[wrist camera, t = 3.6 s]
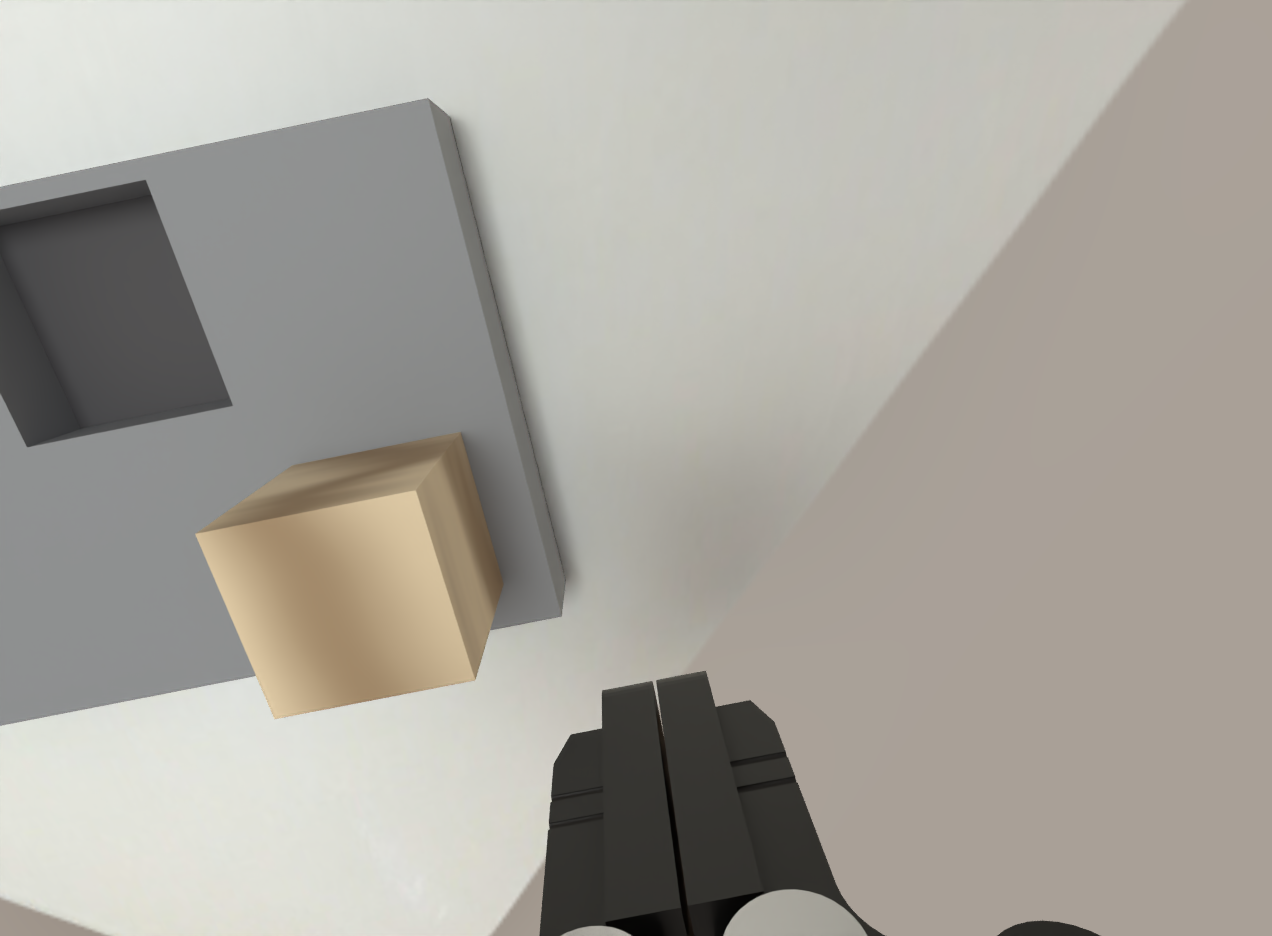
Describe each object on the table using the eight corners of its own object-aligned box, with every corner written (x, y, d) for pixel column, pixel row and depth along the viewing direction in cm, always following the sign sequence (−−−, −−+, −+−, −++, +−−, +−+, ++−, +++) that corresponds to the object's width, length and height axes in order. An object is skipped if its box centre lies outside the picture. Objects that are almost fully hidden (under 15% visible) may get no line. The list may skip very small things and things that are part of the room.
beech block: (460, 431, 20) (415, 490, 15) (503, 583, 21) (475, 680, 17) (291, 465, 20) (195, 534, 15) (347, 614, 22) (274, 719, 17)
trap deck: (449, 115, 20) (412, 84, 16) (565, 580, 24) (558, 642, 20) (-457, 303, 20) (-705, 317, 16) (-172, 724, 25) (-313, 811, 21)
